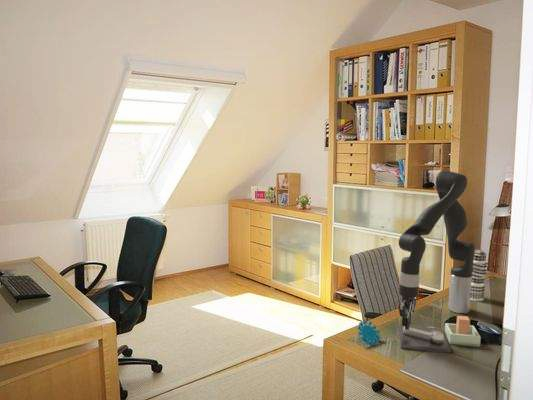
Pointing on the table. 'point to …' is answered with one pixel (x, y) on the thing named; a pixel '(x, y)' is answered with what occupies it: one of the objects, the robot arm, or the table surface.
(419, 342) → the base plate
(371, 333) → the gear
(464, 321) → the block
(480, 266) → the decorative candle
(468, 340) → the tray
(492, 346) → the table surface
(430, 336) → the crank
